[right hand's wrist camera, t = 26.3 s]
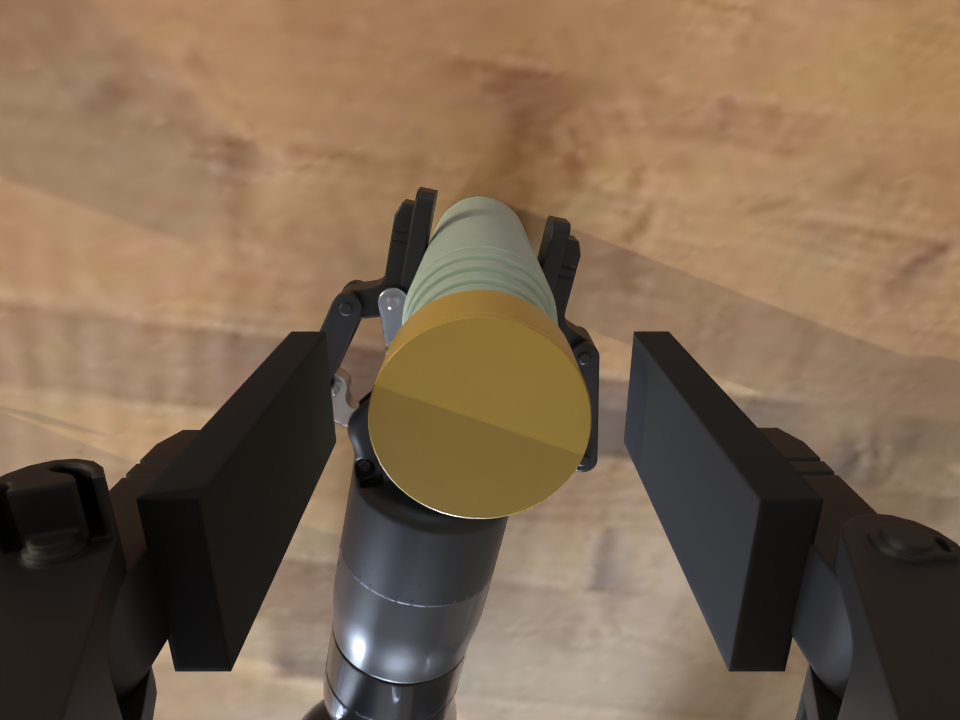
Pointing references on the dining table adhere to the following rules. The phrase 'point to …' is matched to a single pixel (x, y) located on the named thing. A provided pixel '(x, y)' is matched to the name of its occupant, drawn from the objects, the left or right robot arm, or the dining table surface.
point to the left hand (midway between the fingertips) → (493, 207)
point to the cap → (479, 406)
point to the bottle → (479, 258)
